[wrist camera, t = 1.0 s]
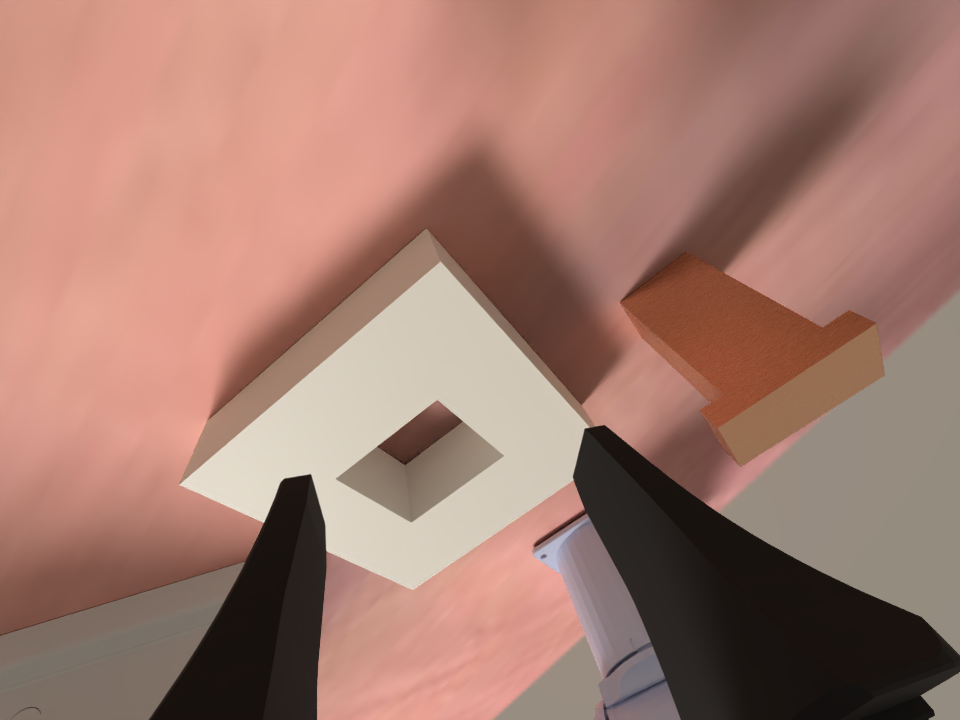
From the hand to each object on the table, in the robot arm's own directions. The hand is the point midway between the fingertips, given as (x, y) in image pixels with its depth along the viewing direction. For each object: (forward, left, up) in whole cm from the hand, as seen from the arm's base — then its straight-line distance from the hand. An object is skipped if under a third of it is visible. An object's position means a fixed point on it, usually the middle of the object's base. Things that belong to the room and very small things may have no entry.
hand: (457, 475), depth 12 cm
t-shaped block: (-9, -10, -11) cm, 17 cm away
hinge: (-6, +27, -11) cm, 30 cm away
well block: (-5, +4, -11) cm, 12 cm away
